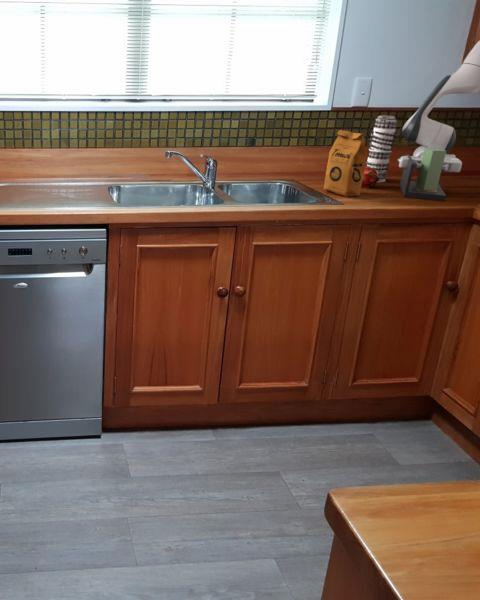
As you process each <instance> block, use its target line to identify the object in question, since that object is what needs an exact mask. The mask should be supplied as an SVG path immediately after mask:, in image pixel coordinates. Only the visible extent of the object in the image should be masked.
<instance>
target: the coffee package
mask: <svg viewBox="0 0 480 600" xmlns="http://www.w3.org/2000/svg"><path fill="white" fill-rule="evenodd" d="M366 157H367V156H366V145H365V135H364V133H359V132H352V131H347V130H343V129H340V130H338V131H337V137H336V139H335V141H333V145H332V146H331V148H330V150H329V152H328V160H327V165H326V171H325V178H324V184H323V187H322V189H323V190H324V191H327V192H331V193H333V194H336V195H339V196H343V197H345V198H348V197H349V198H350V197H351V198H352V197H359V196H360V195H361V193H360V192H361V189H362V185H361V184H362V181H363V177H364V168H365V166H366Z"/></svg>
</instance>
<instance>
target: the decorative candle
mask: <svg viewBox="0 0 480 600" xmlns="http://www.w3.org/2000/svg"><path fill="white" fill-rule="evenodd" d="M374 120H375V123H374V126H373V130H372V131H373V132H372V133H370V138H369V141H371V142H369V143H368V145H369V146H368V151H369V153H368V157H367V161H365V166H366V167H367V166H370V167H371V168H372V169H374V170H376V172H377V175H379V178H380V179H379V181H377V183H385V182H386V179H387V175H388V171H387V170H389V166H390V163H389V162H390V155H391V153H392V151H393V149H392V147H394V146H395V144H394V143H395V139H394V138H396V137H397V133H398V132H397V131H396V127H397V122H398V120H397V119H396V116H394V115H385V114H384V115H383V114H382V115H379V116H377V118H375V119H374Z"/></svg>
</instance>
